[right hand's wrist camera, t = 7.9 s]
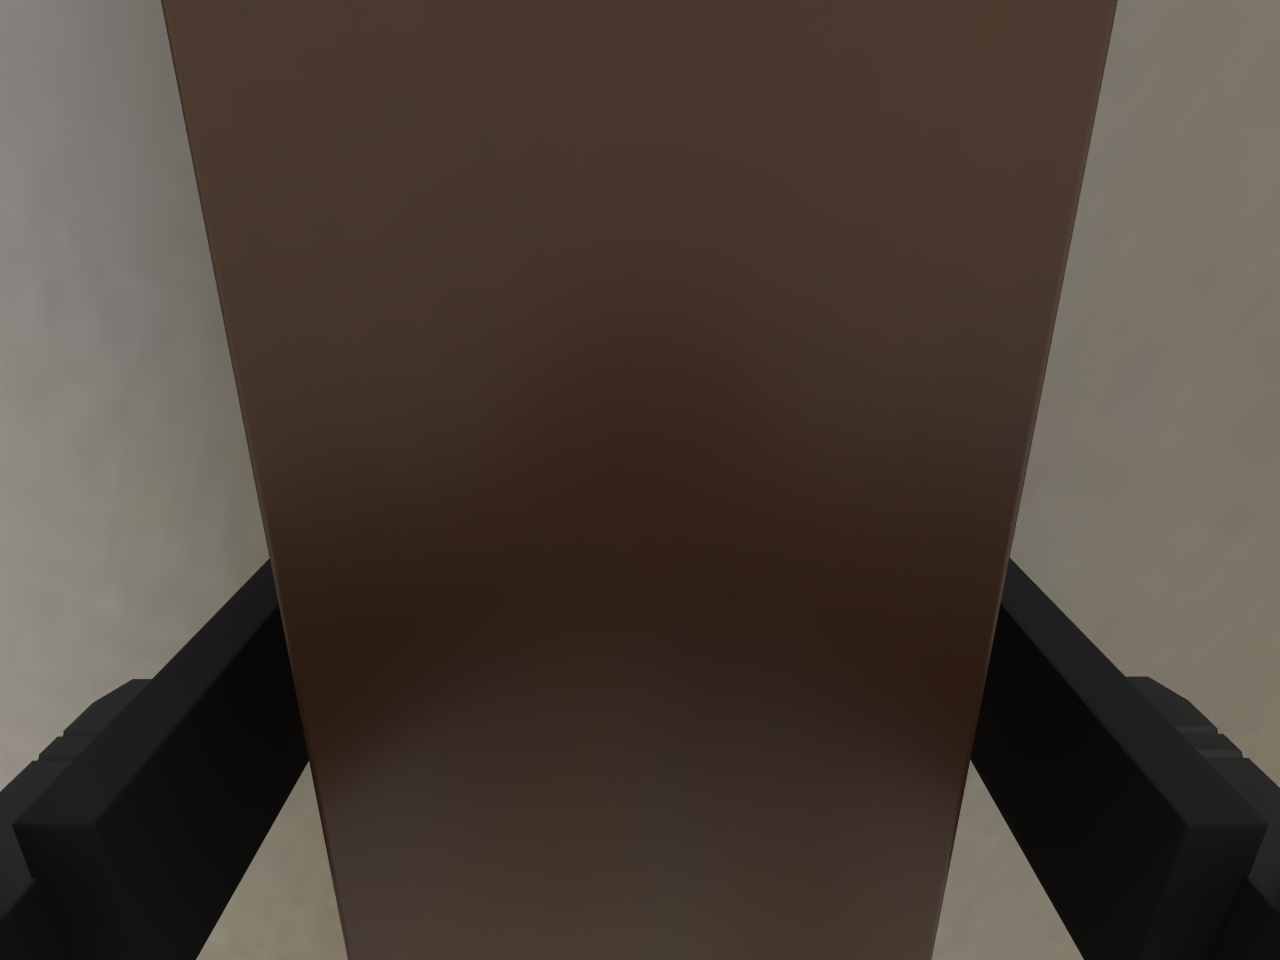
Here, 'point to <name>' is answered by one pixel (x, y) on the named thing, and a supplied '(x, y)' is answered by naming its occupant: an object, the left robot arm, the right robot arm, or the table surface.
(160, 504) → the table surface
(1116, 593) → the table surface
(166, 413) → the table surface
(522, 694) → the beam
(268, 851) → the table surface
